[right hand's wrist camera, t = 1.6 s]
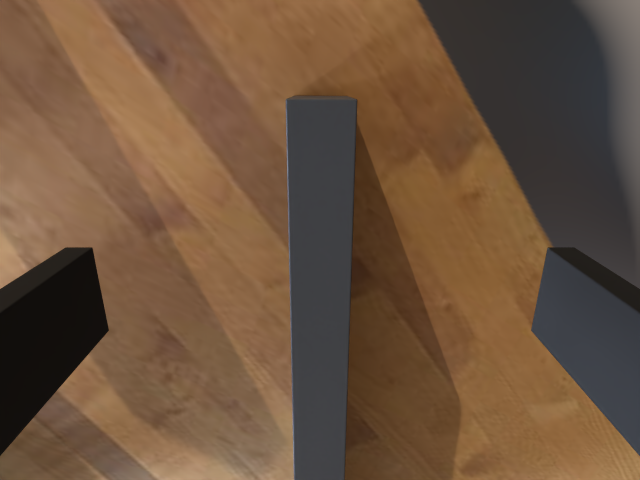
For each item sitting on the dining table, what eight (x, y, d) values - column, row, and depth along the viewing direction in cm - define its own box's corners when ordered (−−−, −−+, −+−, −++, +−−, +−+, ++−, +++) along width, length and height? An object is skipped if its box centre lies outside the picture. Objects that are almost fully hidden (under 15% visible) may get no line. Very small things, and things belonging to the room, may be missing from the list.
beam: (293, 95, 35) (285, 98, 27) (348, 95, 35) (357, 99, 27) (300, 531, 53) (297, 615, 44) (336, 532, 53) (339, 615, 44)
